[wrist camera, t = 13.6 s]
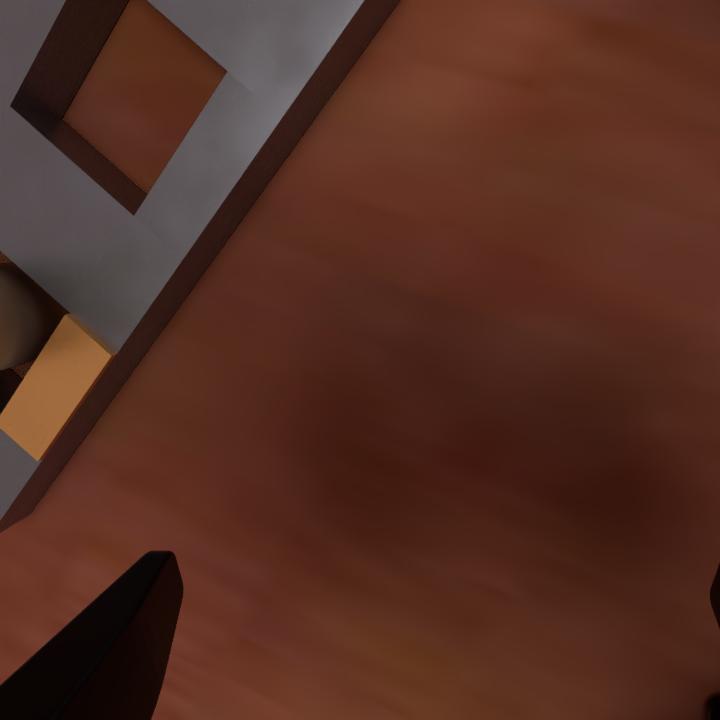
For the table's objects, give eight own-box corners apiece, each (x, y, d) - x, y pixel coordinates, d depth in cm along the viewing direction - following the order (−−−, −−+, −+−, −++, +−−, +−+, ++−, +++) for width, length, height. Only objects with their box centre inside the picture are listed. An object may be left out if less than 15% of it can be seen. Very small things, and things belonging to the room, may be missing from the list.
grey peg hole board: (170, -209, 19) (117, -280, 16) (403, -5, 19) (389, -44, 16) (-134, 368, 27) (-203, 383, 24) (29, 514, 27) (-22, 546, 24)
